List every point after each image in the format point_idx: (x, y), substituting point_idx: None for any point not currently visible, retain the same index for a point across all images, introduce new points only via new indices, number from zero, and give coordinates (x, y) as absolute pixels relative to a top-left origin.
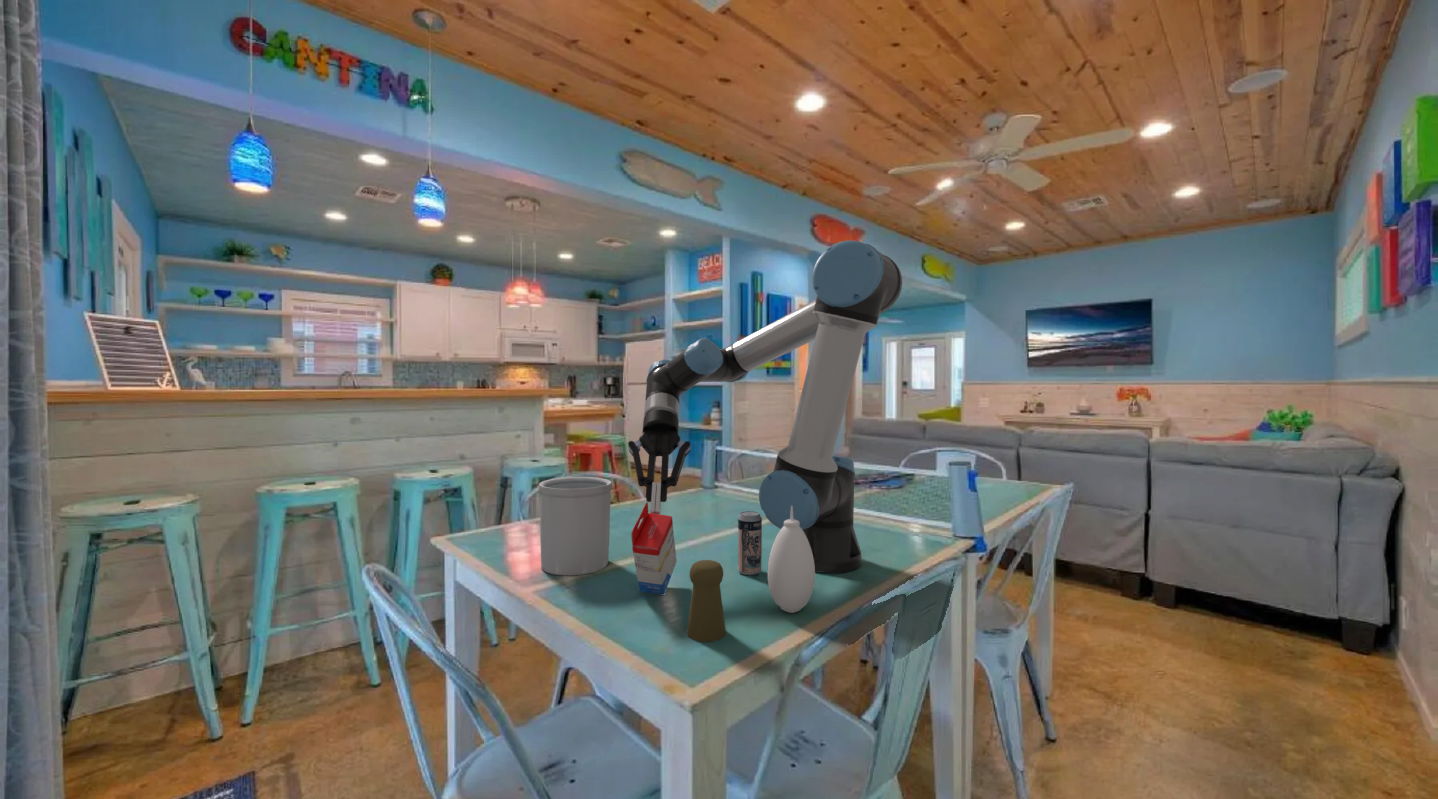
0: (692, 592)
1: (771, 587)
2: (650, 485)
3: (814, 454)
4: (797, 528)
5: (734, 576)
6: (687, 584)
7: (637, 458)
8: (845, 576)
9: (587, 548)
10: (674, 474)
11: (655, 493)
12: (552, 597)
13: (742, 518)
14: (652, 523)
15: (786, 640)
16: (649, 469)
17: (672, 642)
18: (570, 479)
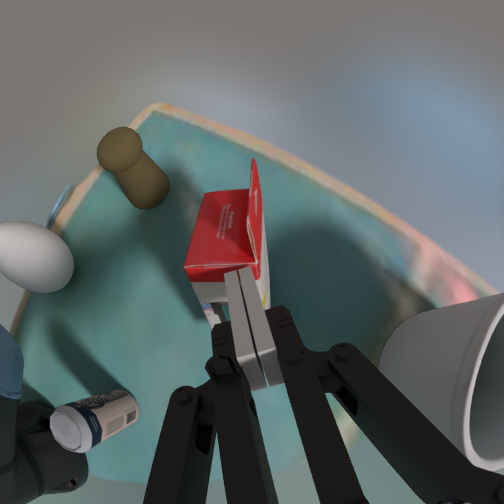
0: (145, 154)
1: (64, 243)
2: (285, 348)
3: None
4: None
5: (140, 386)
6: (205, 338)
7: (417, 436)
8: (26, 390)
9: (410, 333)
10: (180, 411)
11: (248, 311)
12: (385, 234)
13: (76, 416)
14: (231, 234)
15: (77, 199)
16: (317, 404)
17: (180, 160)
18: None
